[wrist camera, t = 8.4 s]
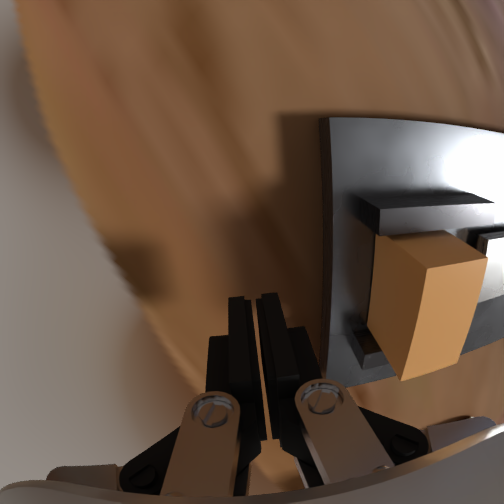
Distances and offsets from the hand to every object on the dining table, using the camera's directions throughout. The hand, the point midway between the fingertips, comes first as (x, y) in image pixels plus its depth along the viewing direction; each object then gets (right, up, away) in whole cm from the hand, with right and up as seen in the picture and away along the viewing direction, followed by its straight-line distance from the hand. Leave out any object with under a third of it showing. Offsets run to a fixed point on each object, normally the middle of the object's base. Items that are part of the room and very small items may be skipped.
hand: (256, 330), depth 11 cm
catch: (+8, +2, +2) cm, 8 cm away
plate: (+15, +3, +4) cm, 16 cm away
